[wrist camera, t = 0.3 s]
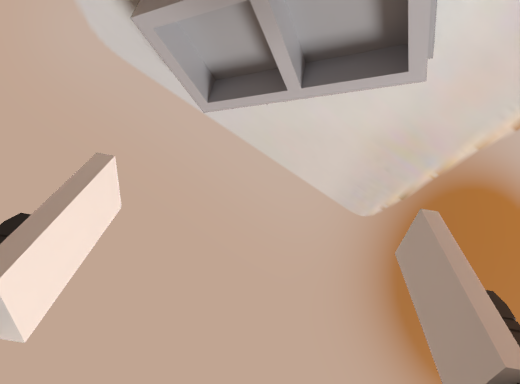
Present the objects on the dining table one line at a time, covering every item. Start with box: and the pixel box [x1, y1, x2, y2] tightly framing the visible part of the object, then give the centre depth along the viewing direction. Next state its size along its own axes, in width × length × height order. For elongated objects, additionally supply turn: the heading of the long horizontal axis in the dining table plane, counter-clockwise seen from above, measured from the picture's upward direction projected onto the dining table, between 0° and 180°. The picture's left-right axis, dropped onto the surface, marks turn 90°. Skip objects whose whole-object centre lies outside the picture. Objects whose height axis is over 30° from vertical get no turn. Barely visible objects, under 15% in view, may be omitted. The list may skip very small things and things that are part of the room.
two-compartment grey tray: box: [131, 0, 437, 113], centre depth 21 cm, size 18×10×4 cm, turn 113°
